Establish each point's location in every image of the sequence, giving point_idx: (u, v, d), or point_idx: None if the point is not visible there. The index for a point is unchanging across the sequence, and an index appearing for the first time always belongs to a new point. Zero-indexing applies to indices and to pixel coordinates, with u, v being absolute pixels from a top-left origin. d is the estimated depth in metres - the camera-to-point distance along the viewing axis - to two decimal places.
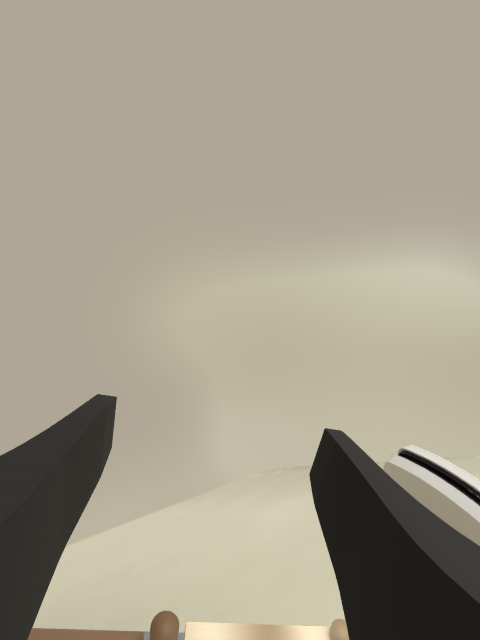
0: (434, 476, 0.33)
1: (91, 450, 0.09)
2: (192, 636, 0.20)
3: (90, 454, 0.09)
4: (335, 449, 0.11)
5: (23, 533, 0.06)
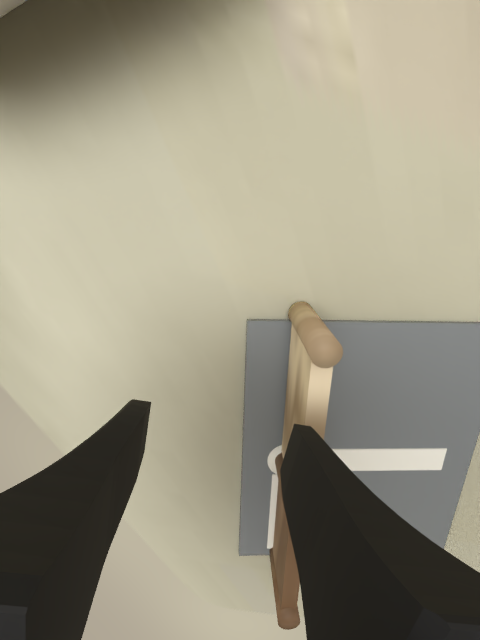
0: None
1: (131, 455, 0.10)
2: None
3: (130, 459, 0.10)
4: (301, 444, 0.11)
5: (86, 540, 0.06)
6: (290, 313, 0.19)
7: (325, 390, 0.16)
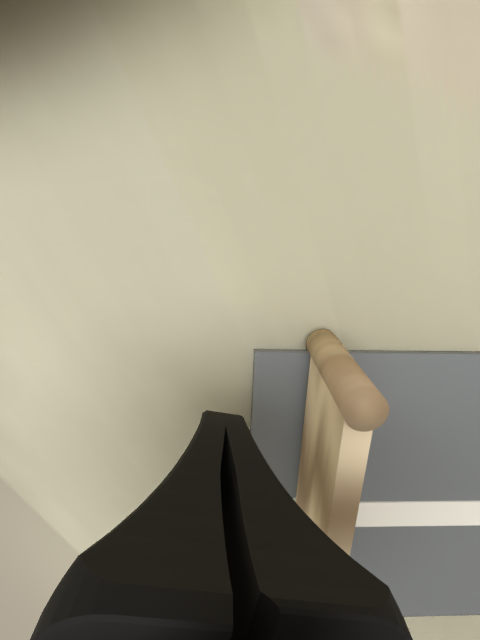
0: None
1: None
2: None
3: None
4: (224, 433, 0.10)
5: None
6: (309, 344, 0.15)
7: (361, 457, 0.12)
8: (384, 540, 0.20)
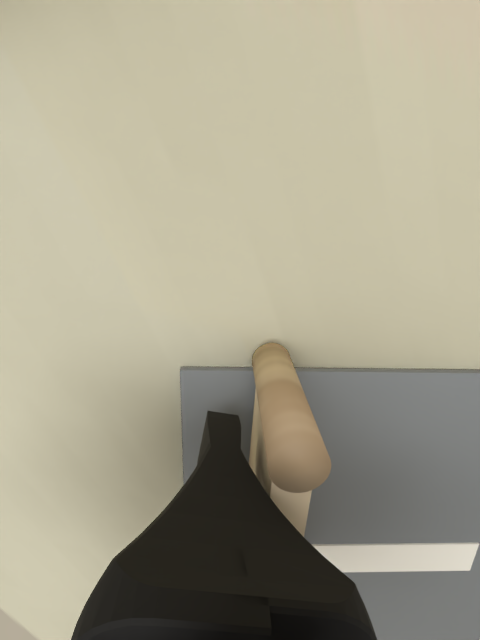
0: None
1: None
2: None
3: None
4: (206, 431, 0.10)
5: None
6: (254, 361, 0.12)
7: (298, 521, 0.09)
8: None
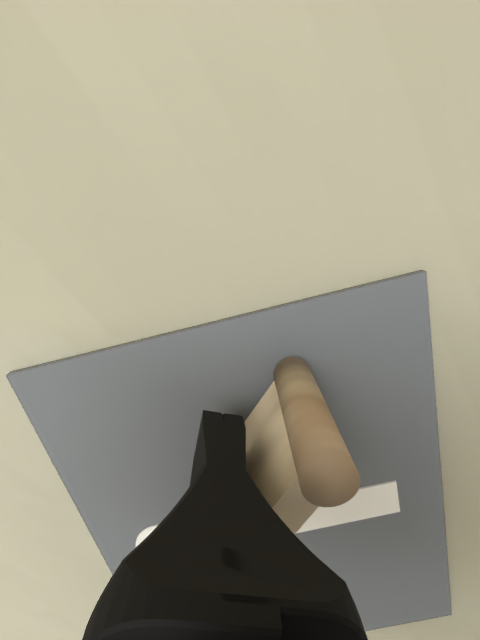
0: None
1: None
2: None
3: None
4: (201, 430, 0.10)
5: None
6: (280, 368, 0.12)
7: None
8: None
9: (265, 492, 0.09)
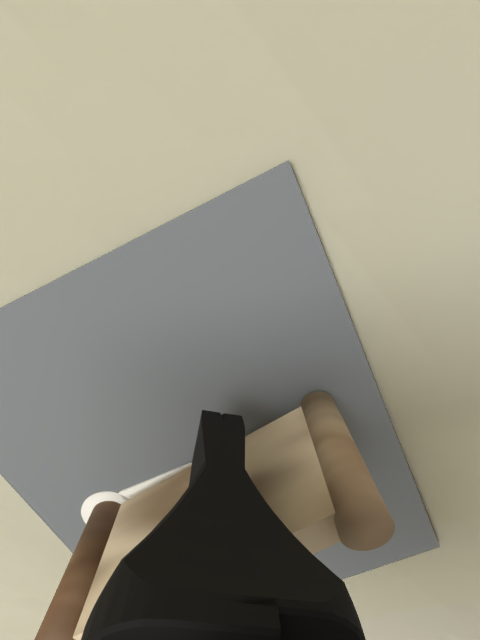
0: None
1: None
2: None
3: None
4: (200, 430, 0.10)
5: None
6: (314, 399, 0.13)
7: None
8: None
9: (286, 512, 0.10)
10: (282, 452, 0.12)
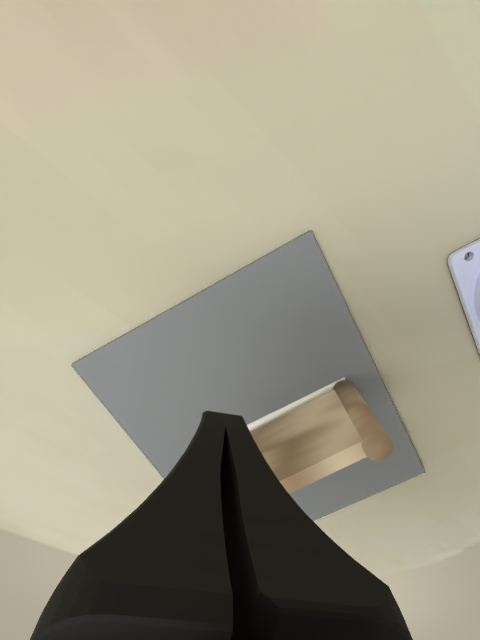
0: None
1: None
2: None
3: None
4: (225, 433, 0.10)
5: None
6: (343, 384, 0.21)
7: (341, 465, 0.17)
8: None
9: (334, 443, 0.18)
10: (325, 415, 0.20)
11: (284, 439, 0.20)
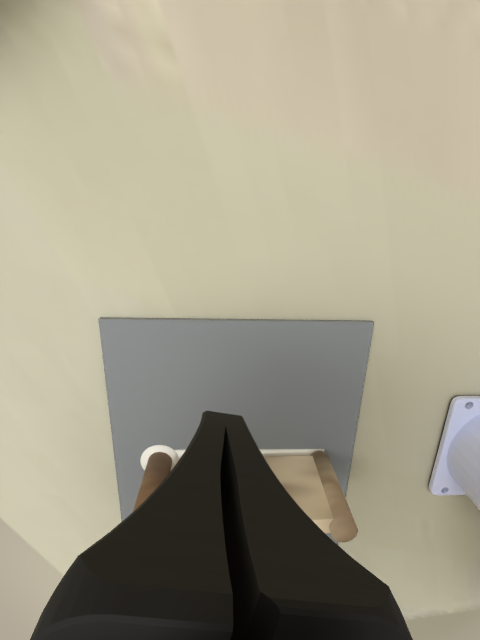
0: None
1: None
2: None
3: None
4: (224, 433, 0.10)
5: None
6: (323, 456, 0.23)
7: None
8: None
9: (306, 509, 0.19)
10: (301, 477, 0.21)
11: None
